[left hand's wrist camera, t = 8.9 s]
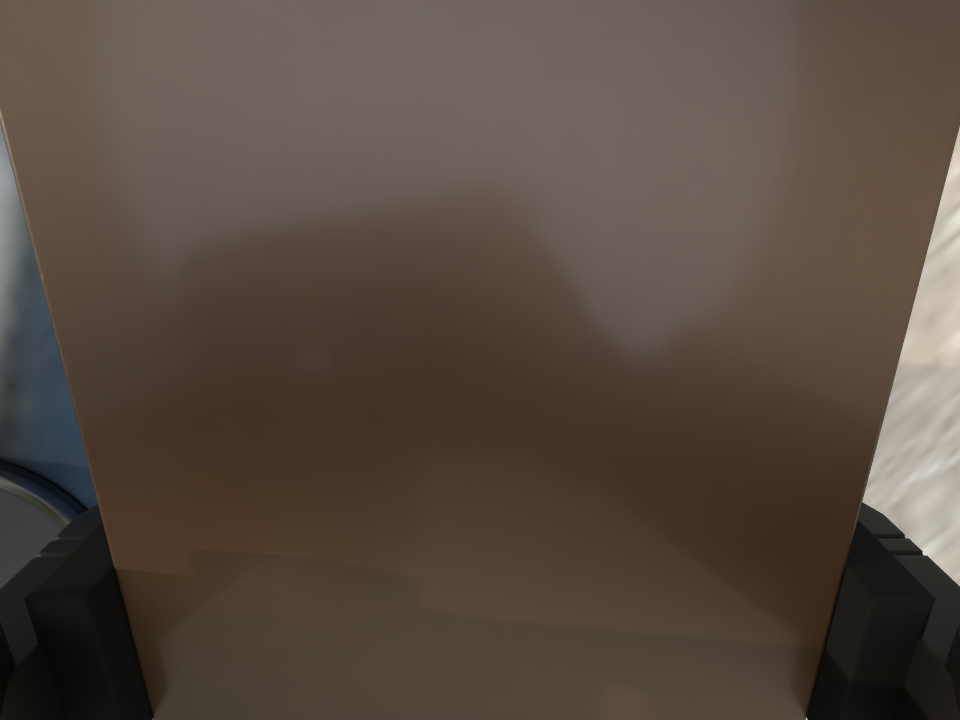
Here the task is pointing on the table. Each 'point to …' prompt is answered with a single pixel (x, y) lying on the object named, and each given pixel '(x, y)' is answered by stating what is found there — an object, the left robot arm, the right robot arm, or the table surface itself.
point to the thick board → (480, 335)
